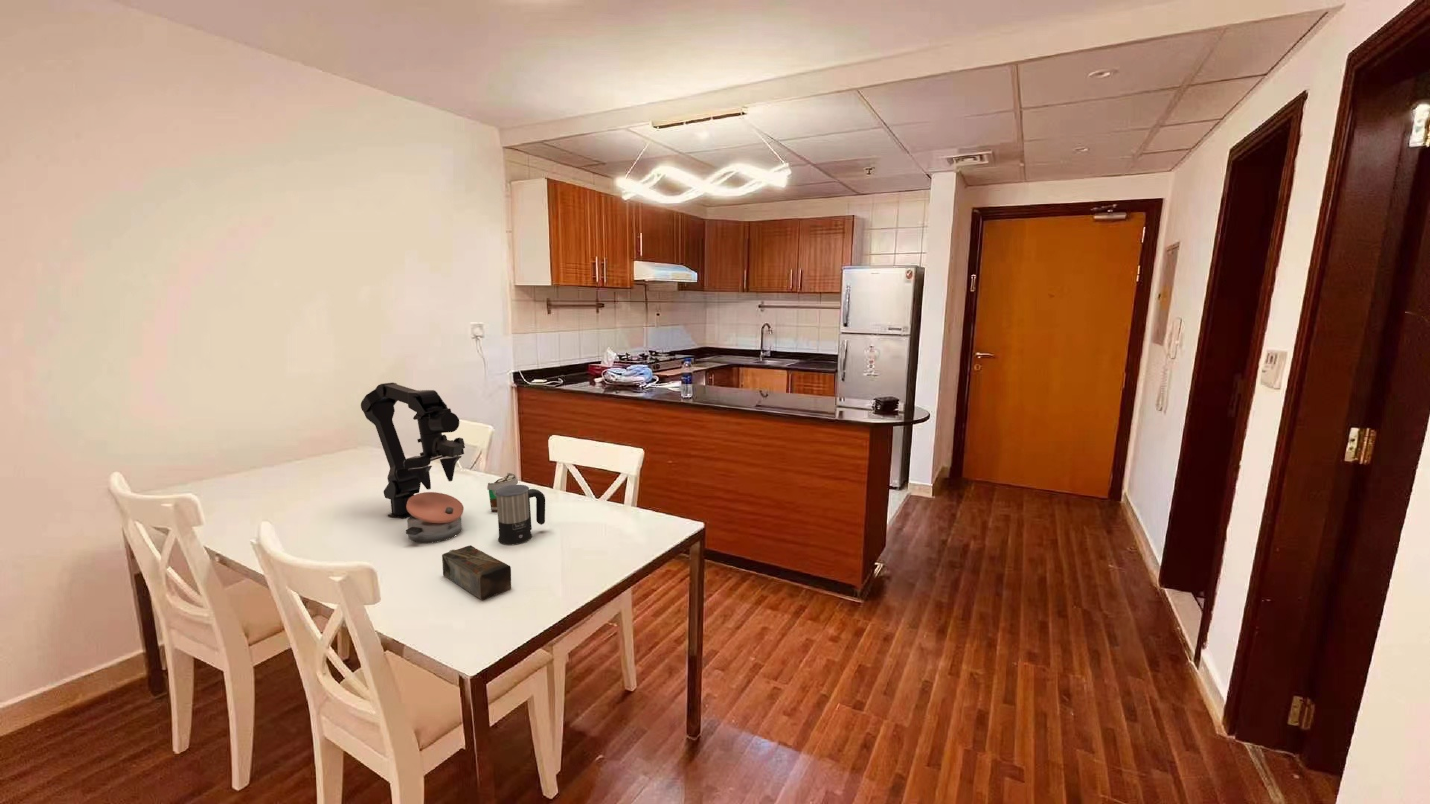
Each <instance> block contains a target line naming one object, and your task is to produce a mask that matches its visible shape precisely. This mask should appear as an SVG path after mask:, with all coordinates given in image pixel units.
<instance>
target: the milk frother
mask: <svg viewBox="0 0 1430 804" xmlns="http://www.w3.org/2000/svg"><path fill="white" fill-rule="evenodd" d="M495 495H496V496H497V511H498V512H497V522H498V523H497V524H498V526H497V527H498V538H497V542H499V543H500V544H502V545H508V546H509V545H511V546H512V544H514V545H519V544H523V543H526V542H527V541H529V540H531V538H532V537H533V534H532V515H531V503H530V502H531V500H530V499H531V498H535V500H536V502H535V503H536V504H535V507H536V508H535V512H536V514H535V516H536V517H535V518H536V523H537V524H539V525H541V526H542V525H544V524H545V521H546V497H545V494H544V493H543V492H542V491H540V490H538V489H537V488H536V489H535V488H531V489H530V487H529V486H528V485H524V484H516V485H508V486H504V487H501V488H498V489H497V490H496V491H495Z"/></svg>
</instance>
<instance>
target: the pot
mask: <svg viewBox="0 0 1430 804" xmlns="http://www.w3.org/2000/svg"><path fill="white" fill-rule="evenodd" d="M406 523H407V529H406V530H405V534H406V535H408V539H409V541H411V542H413V543H417V544H432V542H433V543H438V542H437V541H440V542H445V541H447V540H450V539H453V538H455V537H456V536H455V535H457V536H458V535H460V534H461V533H462V531H463V527H462V525H463V524H462V516H461V517H460V518H458V519H457V520H455V521H452V522H447V523H431V522H426V521H422V520H420V519H417V518H415V517H413V516H412V515H411V516H408V517H407V522H406ZM461 530H462V531H461ZM460 532H461V533H460ZM459 533H460V534H459ZM454 536H455V537H454ZM452 537H453V538H452ZM449 538H450V539H449ZM446 539H447V540H446Z"/></svg>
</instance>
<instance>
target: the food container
mask: <svg viewBox="0 0 1430 804" xmlns="http://www.w3.org/2000/svg"><path fill="white" fill-rule="evenodd" d="M518 484H519V480H518V477H517V475H516V474H515V473H511V472H507V475H506V476H504V477H502V478H498V479H497V480H495V482H488V483H487V486H486V487H487V488H486V489H487V491H488V495H489V503H490V510H491V513H498V511H497V496H496V495H495V491H496V490H497V489H498V488H501V487H504V486H508V485H518Z"/></svg>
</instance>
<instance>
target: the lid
mask: <svg viewBox="0 0 1430 804" xmlns="http://www.w3.org/2000/svg"><path fill="white" fill-rule="evenodd" d="M406 508H407V511H408V512H409V513H410V514H411V516H413V517H415V518H417V519H420V520H422V521H426V522H431V523H447V522H452V521H455V520H457V519H458V518H460V517H461V518H462V515H463V513H464V509H465V508H464V505H463V503H462V502H461V501H460V500H459V499H457V498H456V497H454V496H452V495H449V494H448V493H447V494H445V493H442V492H436V491H435V492H434V491H427V492H425V491H424V492H419V493H416V494H414V496H412V497H410V498H409V500H408V501H407V505H406Z"/></svg>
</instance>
